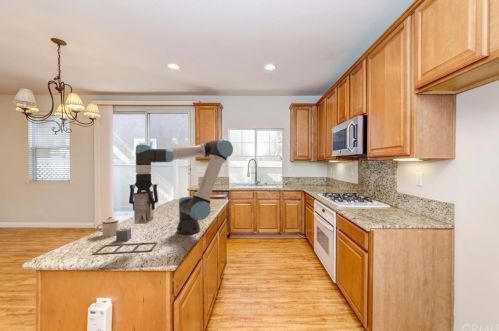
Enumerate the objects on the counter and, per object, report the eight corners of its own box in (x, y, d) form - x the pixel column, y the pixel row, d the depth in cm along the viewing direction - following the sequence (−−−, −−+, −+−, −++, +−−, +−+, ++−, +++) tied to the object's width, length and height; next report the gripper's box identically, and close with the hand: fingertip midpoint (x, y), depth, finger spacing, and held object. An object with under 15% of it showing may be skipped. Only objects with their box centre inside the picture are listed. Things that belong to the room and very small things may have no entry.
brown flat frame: (157, 243, 132) (157, 242, 132) (151, 251, 119) (151, 250, 119) (104, 245, 128) (104, 244, 128) (92, 254, 115) (92, 253, 115)
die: (131, 237, 142) (130, 227, 141) (127, 241, 136) (127, 230, 136) (120, 238, 141) (120, 228, 141) (116, 241, 135) (116, 231, 135)
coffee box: (142, 219, 129) (141, 191, 129) (153, 219, 129) (153, 190, 129) (133, 224, 120) (133, 193, 120) (146, 224, 120) (145, 193, 120)
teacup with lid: (119, 231, 155) (119, 214, 154) (117, 235, 146) (117, 217, 146) (98, 233, 150) (98, 216, 150) (95, 238, 142) (94, 219, 142)
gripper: (164, 172, 130) (164, 214, 130) (126, 173, 127) (127, 215, 127) (161, 173, 122) (161, 217, 122) (121, 174, 120) (121, 218, 120)
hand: (144, 216), depth 125 cm, fingers closed on coffee box, 7 cm apart
